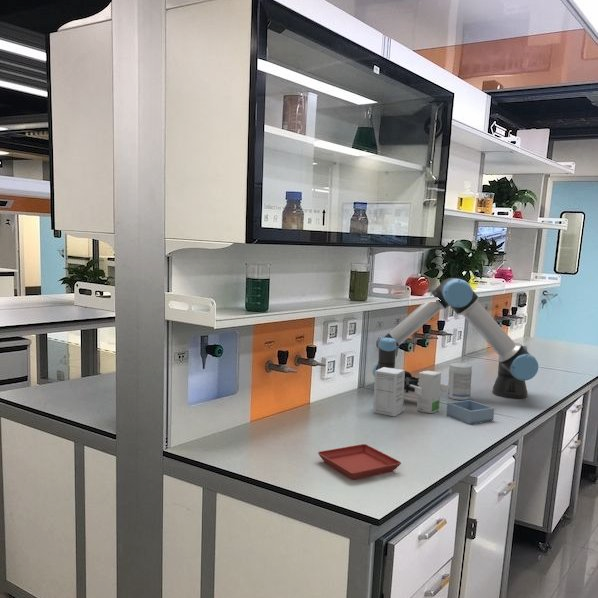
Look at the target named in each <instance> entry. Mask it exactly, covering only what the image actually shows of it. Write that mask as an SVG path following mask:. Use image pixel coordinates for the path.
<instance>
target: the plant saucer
mask: <svg viewBox="0 0 598 598" xmlns="http://www.w3.org/2000/svg"><path fill="white" fill-rule="evenodd" d="M317 453H318V455H319V457H320V458H321V460H322V461H323V462H324V463H325V464H327V465H328V466H330V467H332V468H334V469H335V470H336V471H338V472H340V473H341V474H343V475H345V476H346V477H347V478H349V479H351V480H359V479H363V478H367V477H368V478H369V477H372V476H377V475H382V474H386V473H391V472H394V471H395V470H396V469H398V468H399V467H400V466H401V464H402V462H401V461H400V460H397V459H396V458H394V457H392V456H390V455H388V454H385V453H384V452H382V451H379V450H378V449H376V448H374V447H373V446H370V445H368V444H366V443H365V444H364V443H363V444H356V445H351V446H345V447H339V448H334V449H327V450H326V449H325V450H322V451H318V452H317Z"/></svg>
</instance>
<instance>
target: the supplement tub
mask: <svg viewBox="0 0 598 598" xmlns="http://www.w3.org/2000/svg"><path fill="white" fill-rule="evenodd" d="M472 368H473V367H472V365H470V364H468V363H463V362H461V363H460V362H454V363H450V364H449V368H448V369H449V370H448V382H447V383H448V391H447V397H448V398H450V399H453V400H456V401H457V400H458V401H466V400H470V399H471V389H472V372H473V371H472Z"/></svg>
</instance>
